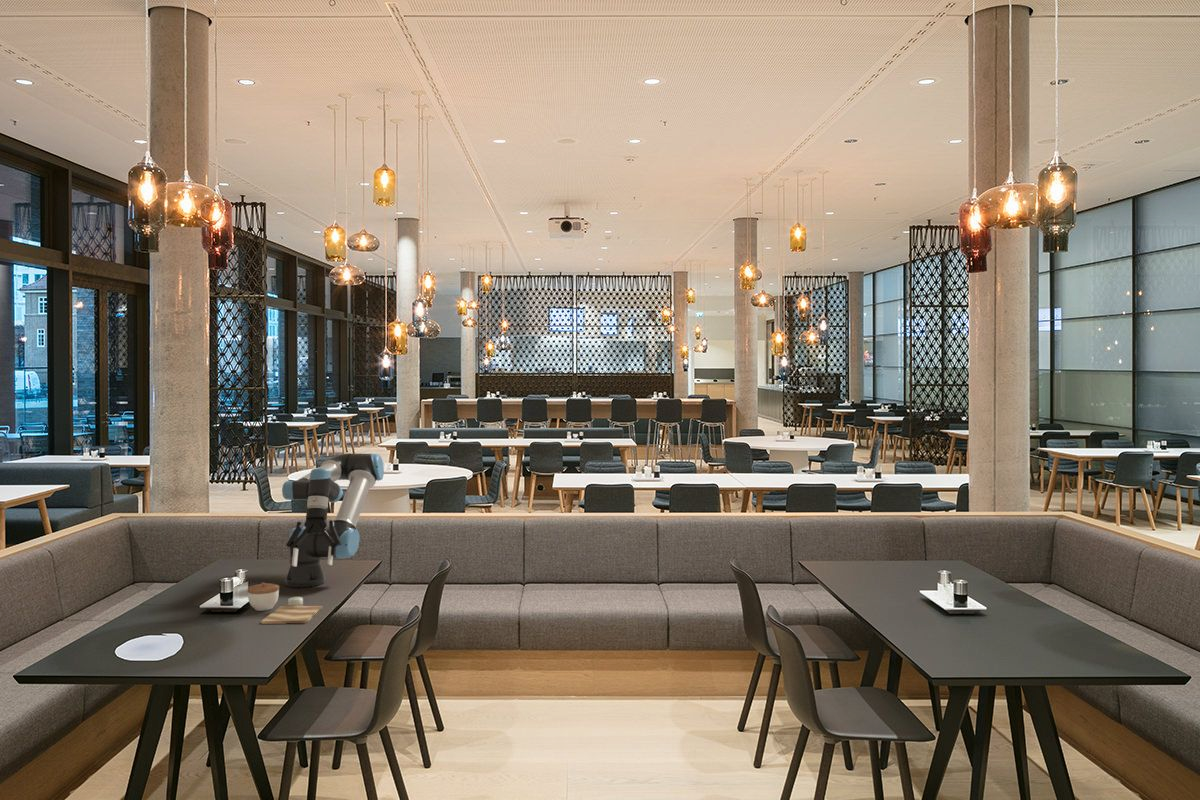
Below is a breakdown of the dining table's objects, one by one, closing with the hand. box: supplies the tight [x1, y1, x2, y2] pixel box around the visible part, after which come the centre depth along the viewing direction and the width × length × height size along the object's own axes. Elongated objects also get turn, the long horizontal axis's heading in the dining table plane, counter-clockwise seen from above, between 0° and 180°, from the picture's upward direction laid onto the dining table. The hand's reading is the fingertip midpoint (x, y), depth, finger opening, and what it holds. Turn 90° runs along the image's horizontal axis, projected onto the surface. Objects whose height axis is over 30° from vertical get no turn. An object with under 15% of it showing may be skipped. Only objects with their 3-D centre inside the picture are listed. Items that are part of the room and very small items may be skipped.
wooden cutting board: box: [261, 605, 323, 625], centre depth 305 cm, size 18×15×1 cm
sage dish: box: [287, 596, 304, 606], centre depth 317 cm, size 5×5×3 cm
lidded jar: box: [246, 582, 280, 612], centre depth 315 cm, size 11×11×9 cm
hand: (311, 565), depth 322 cm, fingers open, 13 cm apart
